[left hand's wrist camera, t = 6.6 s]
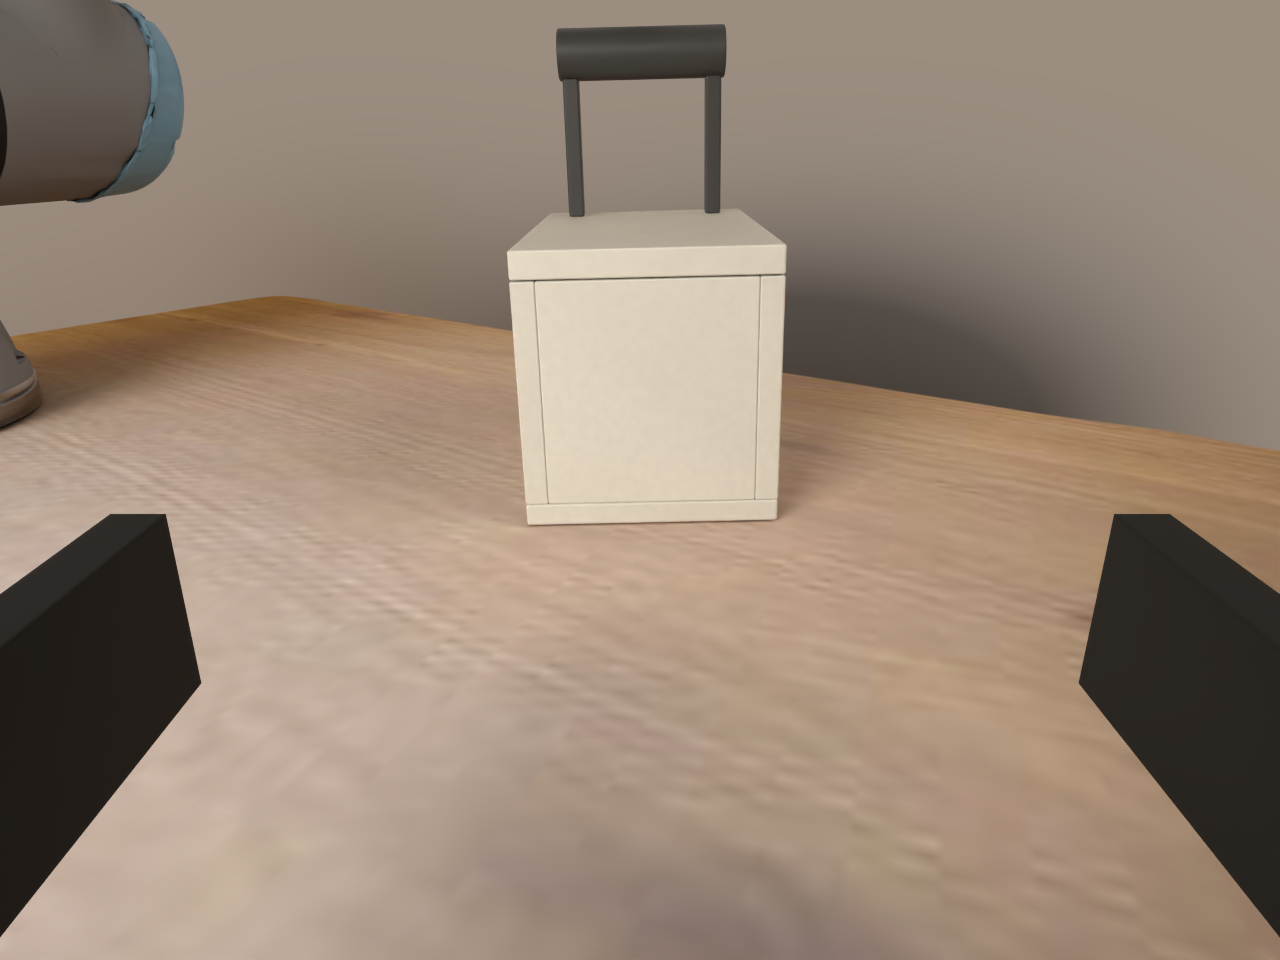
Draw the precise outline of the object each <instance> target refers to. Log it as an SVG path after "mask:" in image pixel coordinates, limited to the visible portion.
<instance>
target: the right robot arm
mask: <svg viewBox="0 0 1280 960" xmlns="http://www.w3.org/2000/svg"><path fill="white" fill-rule="evenodd" d="M183 118H184V95H183V87H182V81H181V76H180V72H179V68H178V65H177V62H176V59H175V57H174V54H173V52H172V50H171V48H170V46H169V44H168V42H167V40H166V38H165V37H164V35H163V34H162V33H161V31H160V30H159V29H158V27H157V26H156V25H155V24H154V23H152V22H150V21H147V20H146V19H145V17H144V16H143V15H142V13H140V12H139V11H137V10H135V9H133V8H132V7H131V6H129V5H127V4H125V3H119V2H116V1H113V0H0V206H3V205H15V204H28V203H40V202H51V201H63V200H67V201H74V202H77V203H83V202H91V201H93V200H95V199H98V198H100V197H104V196H111V195H118V194H125V193H130V192H134V191H137V190H139V189H142V188H143V187H145V186H147V185H149V184H150V183H152V182H153V181H154V180H155V179H157V178H158V177H159V176H160V174H161V173H162V172H163V171H164V170H165V169H166V167H167V166H168V164H169V163H170V161H171V159H172V156H173V154H174V149H175V141H176V140H178V139H179V138H180V135H181V131H182V126H183ZM42 400H43V397H42V394H41V390H40V386H39V383H38V379H37V375H36V372H35V369H34V367H32V365H31V363H30V361H29V359H28V358H27V357H26V355H25V354H24V353H23V352H21V351H18V350H17V349H16V348H15V346H14V344H13V342H12V340H11V338H10V336H9V334H8V333H7V331H6V329H5V327H4V326H3V324H2V322H1V321H0V427H1V426H4V425H6V424H9V423H11V422H13V421H15V420H18V419H20V418H22V417H24V416H26V415H27V414H29V413H31V412H32V411H33V410H35V409H36V408H37V407H38V406H39V405H40V404H41V402H42Z"/></svg>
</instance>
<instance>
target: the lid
mask: <svg viewBox="0 0 1280 960" xmlns="http://www.w3.org/2000/svg"><path fill="white" fill-rule="evenodd" d="M556 51H557V66H558V75H559V79H560V81H562V82H563V97H564V117H565V137H566V157H567V177H568V197H569V213H551V214H550V215H548V216H547V217H546V218H545V219H544V220H543V221H542V222H540V223H539V224H538V225H537V226H536V227H535V228H534V229H533V230H531V231H530V232H529V233H528V234H527V235H526V236H525V237H523V238H522V239H521V240H520V241H519V242H518V243H517V244H515V245H514V246H513V247H512V248H511V249H510V250H509V251H508V252H507V258H508V272H509V279H510V280H511V281H512V280H554V279H596V278H639V277H681V276H723V275H766V274H785V272H786V250H787V246H786V244H784V243H783V242H782V241H780V240H779V239H778V238H776V237H775V236H774V235H772V234H771V233H770V232H768V231H767V230H766V229H764V228H763V227H762V226H760V225H759V224H758V223H756V222H755V221H754V220H752V219H751V218H750V217H748V216H747V215H746V214H744V213H743V212H742V211H740V210H739V209H720V163H721V162H720V161H721V77H724V75H725V68H726V28H725V25H724V24H715V25H676V26H638V27H599V28H560V29H557V33H556ZM680 78H705V200H704V201H705V202H704V210H672V211H631V212H590V213H585V206H584V183H583V160H582V138H581V114H580V91H579V81H601V80H641V79H680Z"/></svg>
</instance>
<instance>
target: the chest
mask: <svg viewBox="0 0 1280 960" xmlns="http://www.w3.org/2000/svg"><path fill="white" fill-rule="evenodd" d="M785 280H786V278H785V276H784V275H783V274H766V275H723V276H681V277H639V278H596V279H554V280H512V281H511V282H510V284H509V285H510V299H511V312H512V326H513V339H514V353H515V366H516V379H517V393H518V406H519V419H520V433H521V446H522V459H523V473H524V486H525V500H526V504H527V505H526V511H527V523H528V525H549V524H596V523H642V522H689V521H736V520H775V519H777V507H778V501H777V498H778V483H779V454H780V425H781V396H782V367H783V338H784V309H785Z"/></svg>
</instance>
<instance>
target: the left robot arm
mask: <svg viewBox="0 0 1280 960" xmlns="http://www.w3.org/2000/svg"><path fill="white" fill-rule="evenodd" d="M200 684H201V679H200V675H199V670H198V665H197V660H196V656H195V651H194V646H193V641H192V637H191V632H190V627H189V622H188V618H187V613H186V608H185V603H184V599H183V594H182V589H181V584H180V580H179V575H178V570H177V565H176V561H175V556H174V551H173V546H172V542H171V537H170V532H169V527H168V523H167V518H166V514H110V515H108V516H107V517H106V518H104V519H103V520H102V521H100V522H99V523H97V524H96V525H95V526H93V527H92V528H91V529H89V530H88V531H86V532H85V533H84V534H82V535H81V536H80V537H78V538H77V539H75V540H74V541H73V542H71V543H70V544H69V545H67V546H66V547H64V548H63V549H62V550H60V551H59V552H58V553H56V554H55V555H53V556H52V557H51V558H49V559H48V560H47V561H45V562H44V563H42V564H41V565H40V566H38V567H37V568H36V569H34V570H33V571H31V572H30V573H29V574H27V575H26V576H25V577H23V578H22V579H20V580H19V581H18V582H16V583H15V584H14V585H12V586H11V587H9V588H8V589H7V590H5V591H4V592H3V593H1V594H0V937H1V936H2V934H3V933H4V932H5V931H6V929H7V928H8V927H9V925H10V924H11V923H12V922H13V920H14V919H15V918H16V917H17V915H18V914H19V913H20V912H21V910H22V909H23V908H24V907H25V905H26V904H27V903H28V901H29V900H30V899H31V898H32V896H33V895H34V894H35V893H36V891H37V890H38V889H39V888H40V886H41V885H42V884H43V883H44V881H45V880H46V879H47V877H48V876H49V875H50V874H51V872H52V871H53V870H54V869H55V867H56V866H57V865H58V864H59V862H60V861H61V860H62V859H63V857H64V856H65V855H66V853H67V852H68V851H69V850H70V848H71V847H72V846H73V845H74V843H75V842H76V841H77V840H78V838H79V837H80V836H81V835H82V833H83V832H84V831H85V829H86V828H87V827H88V826H89V824H90V823H91V822H92V821H93V819H94V818H95V817H96V816H97V814H98V813H99V812H100V811H101V809H102V808H103V807H104V805H105V804H106V803H107V802H108V800H109V799H110V798H111V797H112V795H113V794H114V793H115V792H116V790H117V789H118V788H119V787H120V785H121V784H122V783H123V781H124V780H125V779H126V778H127V776H128V775H129V774H130V773H131V771H132V770H133V769H134V768H135V766H136V765H137V764H138V763H139V761H140V760H141V759H142V757H143V756H144V755H145V754H146V752H147V751H148V750H149V749H150V747H151V746H152V745H153V744H154V742H155V741H156V740H157V739H158V737H159V736H160V735H161V733H162V732H163V731H164V730H165V728H166V727H167V726H168V725H169V723H170V722H171V721H172V720H173V718H174V717H175V716H176V715H177V713H178V712H179V711H180V709H181V708H182V707H183V706H184V704H185V703H186V702H187V701H188V699H189V698H190V697H191V696H192V694H193V693H194V692H195V690H196V689H197V688H198V687H199V685H200ZM1079 684H1080V685H1081V687H1082V688H1083V689H1084V690H1085V692H1086V693H1087V694H1088V696H1089V697H1090V698H1091V699H1092V701H1093V702H1094V703H1095V704H1096V706H1097V707H1098V708H1099V709H1100V711H1101V712H1102V713H1103V715H1104V716H1105V717H1106V718H1107V720H1108V721H1109V722H1110V723H1111V725H1112V726H1113V727H1114V728H1115V730H1116V731H1117V732H1118V733H1119V735H1120V736H1121V737H1122V739H1123V740H1124V741H1125V742H1126V744H1127V745H1128V746H1129V747H1130V749H1131V750H1132V751H1133V752H1134V754H1135V755H1136V756H1137V757H1138V759H1139V760H1140V761H1141V763H1142V764H1143V765H1144V766H1145V768H1146V769H1147V770H1148V771H1149V773H1150V774H1151V775H1152V776H1153V778H1154V779H1155V780H1156V781H1157V783H1158V784H1159V785H1160V787H1161V788H1162V789H1163V790H1164V792H1165V793H1166V794H1167V795H1168V797H1169V798H1170V799H1171V800H1172V802H1173V803H1174V804H1175V805H1176V807H1177V808H1178V809H1179V811H1180V812H1181V813H1182V814H1183V816H1184V817H1185V818H1186V819H1187V821H1188V822H1189V823H1190V824H1191V826H1192V827H1193V828H1194V829H1195V831H1196V832H1197V833H1198V835H1199V836H1200V837H1201V838H1202V840H1203V841H1204V842H1205V843H1206V845H1207V846H1208V847H1209V848H1210V850H1211V851H1212V852H1213V853H1214V855H1215V856H1216V857H1217V859H1218V860H1219V861H1220V862H1221V864H1222V865H1223V866H1224V867H1225V869H1226V870H1227V871H1228V872H1229V874H1230V875H1231V876H1232V877H1233V879H1234V880H1235V881H1236V883H1237V884H1238V885H1239V886H1240V888H1241V889H1242V890H1243V891H1244V893H1245V894H1246V895H1247V896H1248V898H1249V899H1250V900H1251V901H1252V903H1253V904H1254V905H1255V907H1256V908H1257V909H1258V910H1259V912H1260V913H1261V914H1262V915H1263V917H1264V918H1265V919H1266V920H1267V922H1268V923H1269V924H1270V925H1271V927H1272V928H1273V929H1274V931H1275V932H1276V933H1277V934H1278V936H1279V937H1280V594H1279V593H1277V592H1276V591H1275V590H1273V589H1272V588H1271V587H1269V586H1268V585H1266V584H1265V583H1264V582H1262V581H1261V580H1260V579H1258V578H1257V577H1255V576H1254V575H1253V574H1251V573H1250V572H1249V571H1247V570H1246V569H1244V568H1243V567H1242V566H1240V565H1239V564H1238V563H1236V562H1235V561H1233V560H1232V559H1231V558H1229V557H1228V556H1227V555H1225V554H1224V553H1222V552H1221V551H1220V550H1218V549H1217V548H1216V547H1214V546H1213V545H1211V544H1210V543H1209V542H1207V541H1206V540H1205V539H1203V538H1202V537H1200V536H1199V535H1198V534H1196V533H1195V532H1194V531H1192V530H1191V529H1189V528H1188V527H1187V526H1185V525H1184V524H1183V523H1181V522H1180V521H1178V520H1177V519H1176V518H1174V517H1173V516H1172V515H1170V514H1114V518H1113V523H1112V527H1111V532H1110V537H1109V542H1108V546H1107V551H1106V556H1105V561H1104V565H1103V570H1102V575H1101V580H1100V584H1099V589H1098V594H1097V599H1096V603H1095V608H1094V613H1093V618H1092V622H1091V627H1090V632H1089V637H1088V641H1087V646H1086V651H1085V656H1084V660H1083V665H1082V670H1081V675H1080V679H1079Z"/></svg>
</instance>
